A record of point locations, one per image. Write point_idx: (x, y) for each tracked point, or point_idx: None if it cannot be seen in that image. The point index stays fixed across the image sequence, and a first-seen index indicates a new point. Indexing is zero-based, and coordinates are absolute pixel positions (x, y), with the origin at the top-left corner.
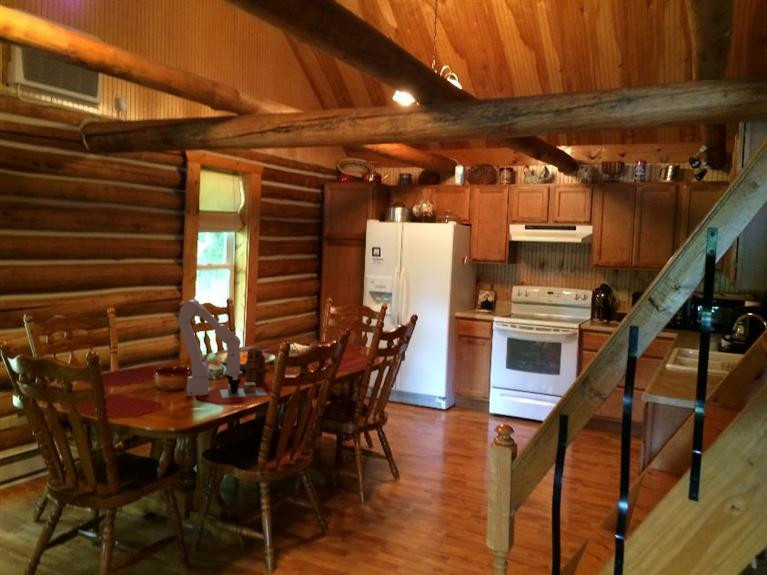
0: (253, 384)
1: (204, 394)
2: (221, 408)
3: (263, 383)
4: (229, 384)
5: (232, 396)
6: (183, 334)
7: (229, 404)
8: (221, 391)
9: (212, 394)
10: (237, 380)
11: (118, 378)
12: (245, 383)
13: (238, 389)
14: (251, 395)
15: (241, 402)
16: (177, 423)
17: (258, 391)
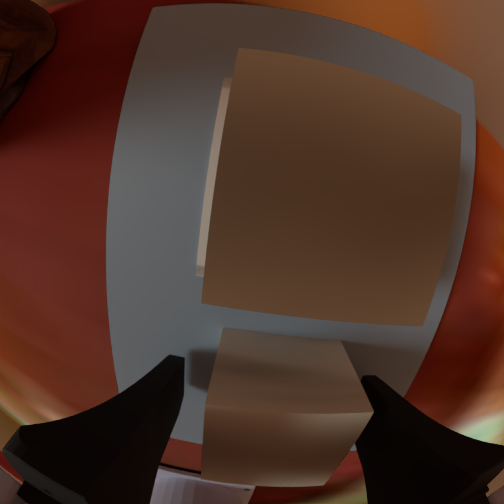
0: (448, 151)
1: (240, 499)
2: (484, 422)
3: (46, 13)
4: (254, 479)
5: None
6: None
7: (474, 399)
8: (179, 433)
9: None
10: (486, 480)
11: (15, 474)
12: (298, 285)
13: (353, 375)
14: (455, 226)
15: (495, 336)
16: None
17: None
